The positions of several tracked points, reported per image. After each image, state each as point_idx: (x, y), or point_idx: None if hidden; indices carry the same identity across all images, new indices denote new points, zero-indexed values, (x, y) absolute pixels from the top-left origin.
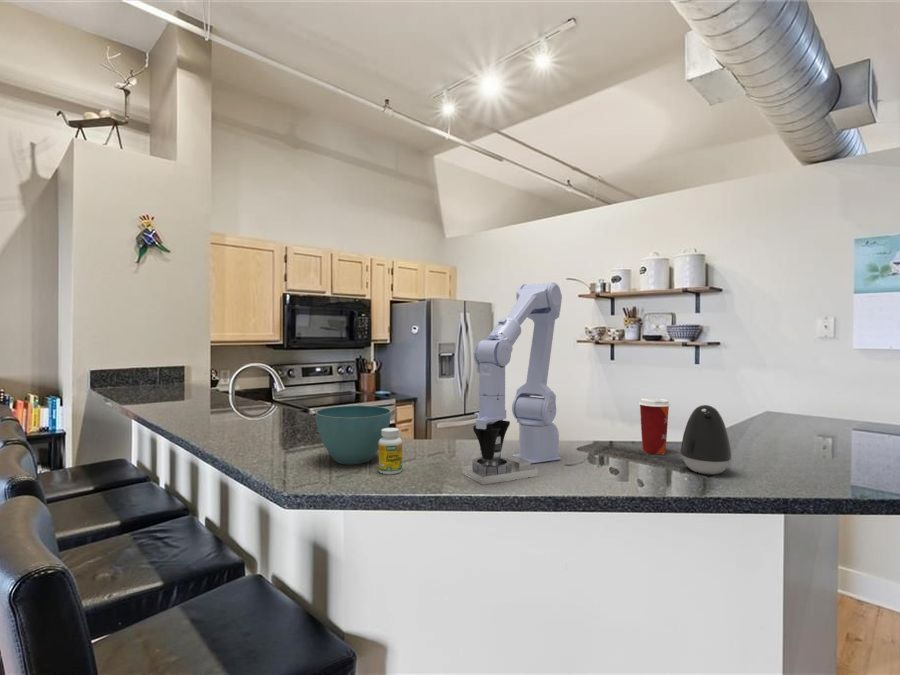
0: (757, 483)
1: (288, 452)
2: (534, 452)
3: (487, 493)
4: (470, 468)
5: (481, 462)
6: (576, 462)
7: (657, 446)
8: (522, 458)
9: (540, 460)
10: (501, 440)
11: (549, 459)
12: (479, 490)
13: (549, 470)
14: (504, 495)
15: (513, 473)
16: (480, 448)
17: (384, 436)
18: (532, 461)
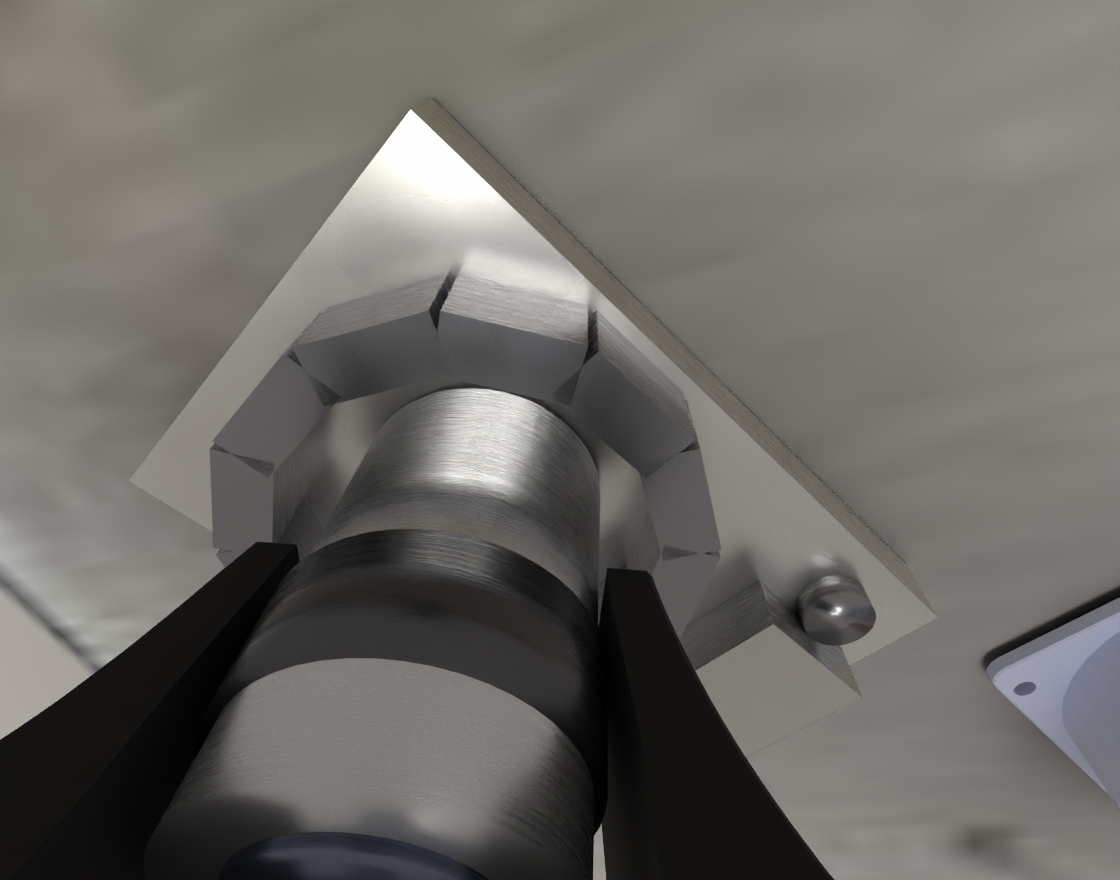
0: None
1: None
2: (1111, 768)
3: (7, 521)
4: (365, 266)
5: (380, 448)
6: (1057, 869)
7: None
8: (781, 736)
9: (1048, 734)
10: (609, 866)
11: (1089, 776)
12: (21, 450)
13: (808, 771)
14: (66, 623)
15: None
16: (307, 573)
17: None
18: (1010, 692)
